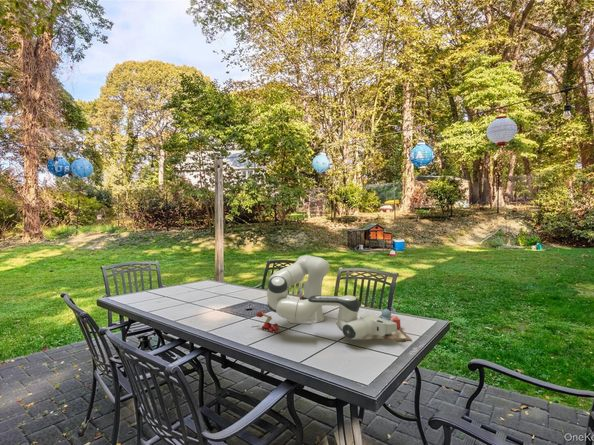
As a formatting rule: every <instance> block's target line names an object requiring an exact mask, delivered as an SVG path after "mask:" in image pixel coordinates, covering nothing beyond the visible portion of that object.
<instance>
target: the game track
mask: <svg viewBox="0 0 594 445" xmlns="http://www.w3.org/2000/svg"><path fill="white" fill-rule="evenodd" d="M386 339H387V340H388V339H390V340H391V339H392V340H394V341H395V342H396V343H407V342H406V341H413V340H412V338H411V337H410V336H409V335H408V334H407V333H406V332H405V331H404V330H403V329H401V328H400V330H396V331H394V332H392V334H390V335H385V336H380V335H366V336H364V337H362V338H359V339H349V341H352V340H356V341H357V340H386Z"/></svg>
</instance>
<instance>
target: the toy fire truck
mask: <svg viewBox="0 0 594 445" xmlns="http://www.w3.org/2000/svg"><path fill="white" fill-rule="evenodd" d="M256 317H257V318H263V317H265V318H266V320H265V322H264V324H263V325H262V326H261V330H263V331H264V332H265V331H266V332H267V333H268V332H271V333H273V334H277V333H279V332H280V327H279V326H280V325H279V324H278V323H277V322H275V323H273V324H272V323H270V322H271V320H272V319H273V318H272V316H271V315H268V314H266V313H265V312H264V311H259V312H258V313H256Z"/></svg>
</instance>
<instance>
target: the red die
mask: <svg viewBox="0 0 594 445" xmlns="http://www.w3.org/2000/svg"><path fill="white" fill-rule="evenodd" d="M391 319H392V320H393V322H395V323H397V330H400V329H401V319H400V318H399V316H396V315H395V316H394V315H391Z"/></svg>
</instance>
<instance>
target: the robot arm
mask: <svg viewBox="0 0 594 445" xmlns="http://www.w3.org/2000/svg"><path fill="white" fill-rule="evenodd" d="M330 267H331V266H330V263H329V261H328V260H326V259H324V258H322V257H319V256H313V255H309V254H305V255H300V256H299V257H298V258H297V259H296V261H295V262H294V263H292V264H290V265H287V266H286V267H283V268H281V269H279V270H278V271H276V272H274V273H272V274H271V275H270V276H269V278H268V283H267V289H266V290H267V292H266V295H267V297H266V298H267V307H268V309H269V310H270V311H272V312H273V313H275V314H277V315H278V317H281V318H283V319H287V321H288V322H289V323H290V324H298V325H299V324H301V325H303V324H305V325H312V324H318V323H321V322H323V321H325V320H324V319H325V318H324V312H323V306H334V307H336V306H337V307H339V308H338V313H337V318H336V325H337V328H338V329H339V330H340V331H341V332H342V334H343V336H344V337H345V338H347V339H349V340H350V339H359V338H360V339H361V338H362V337H364V336H366V335H380V336H385V334H389V333H392V332H394V331H396V330H397V323H395V322H393V320H392V319H389V320H386V319H383V318H382V315H381V316H376V315H373V314H371V313H364V314H362V315H359V314H358V313H359V311H360V307H361V303H360V301H359V299H358V297H357V296H355V295H350V294H344V295H323V294H322V290H323V288H322V287H323V286H322V285H323V281H324V278H325V276H326V275H328V274H329V271H330ZM306 275H308V276H307V280H306V281H304V282H303V296H302V295H299V296H298V298H291V297H289V296H288V288H289V287H292V286H293V285H296V284H297V283H300V282H301V281H303V280H304V277H305V276H306ZM299 299H300V300H299ZM358 315H359V316H360V317H358Z"/></svg>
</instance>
